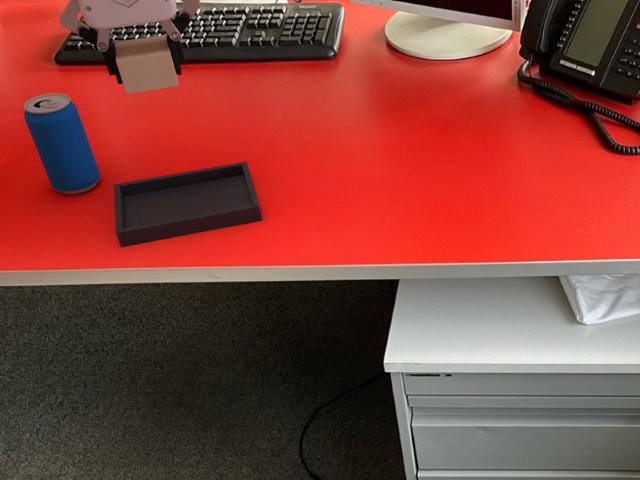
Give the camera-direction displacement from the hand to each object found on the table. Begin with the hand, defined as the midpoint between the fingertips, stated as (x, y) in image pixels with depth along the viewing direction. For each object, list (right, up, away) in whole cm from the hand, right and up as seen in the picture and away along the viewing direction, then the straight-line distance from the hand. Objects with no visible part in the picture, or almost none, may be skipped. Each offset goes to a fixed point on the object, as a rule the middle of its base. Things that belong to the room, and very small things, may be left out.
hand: (149, 73), depth 107 cm
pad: (0, -1, +1) cm, 1 cm away
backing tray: (+1, -14, +11) cm, 18 cm away
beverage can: (-16, -10, +16) cm, 25 cm away
